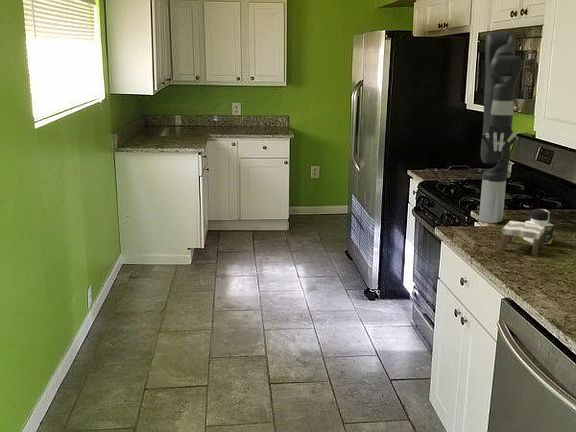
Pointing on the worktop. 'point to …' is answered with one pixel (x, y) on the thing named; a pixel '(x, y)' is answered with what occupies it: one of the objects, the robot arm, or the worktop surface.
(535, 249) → the footstool
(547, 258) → the worktop surface
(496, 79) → the robot arm
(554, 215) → the worktop surface
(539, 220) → the medicine bottle
